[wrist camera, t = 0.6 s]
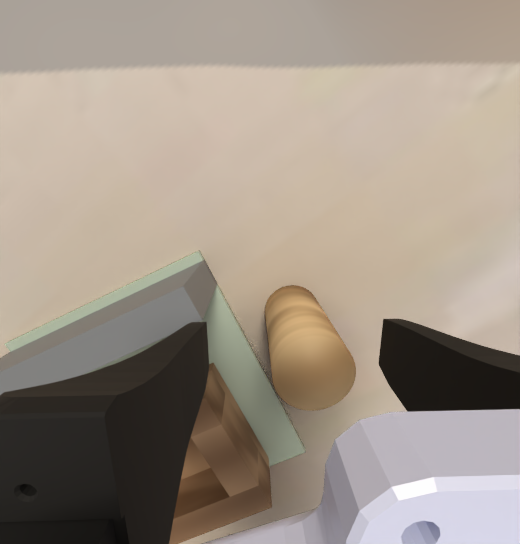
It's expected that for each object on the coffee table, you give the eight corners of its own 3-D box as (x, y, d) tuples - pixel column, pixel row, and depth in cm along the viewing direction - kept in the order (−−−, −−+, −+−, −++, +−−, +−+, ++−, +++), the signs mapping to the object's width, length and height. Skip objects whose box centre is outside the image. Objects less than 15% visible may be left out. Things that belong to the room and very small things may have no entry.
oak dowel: (326, 322, 22) (367, 391, 14) (278, 343, 22) (292, 422, 14) (305, 276, 21) (337, 323, 13) (255, 299, 21) (258, 357, 13)
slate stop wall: (217, 283, 21) (202, 320, 15) (31, 370, 22) (-56, 437, 16) (204, 259, 20) (183, 286, 14) (14, 349, 22) (-81, 409, 15)
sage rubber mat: (305, 448, 25) (305, 452, 24) (142, 513, 26) (140, 518, 26) (199, 250, 20) (198, 251, 20) (9, 341, 21) (4, 344, 21)
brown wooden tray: (268, 457, 24) (271, 507, 20) (164, 499, 25) (148, 555, 21) (213, 362, 22) (205, 398, 18) (100, 412, 23) (68, 456, 19)
